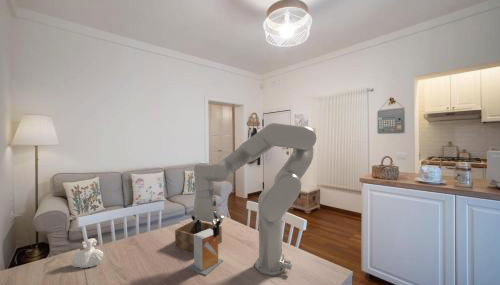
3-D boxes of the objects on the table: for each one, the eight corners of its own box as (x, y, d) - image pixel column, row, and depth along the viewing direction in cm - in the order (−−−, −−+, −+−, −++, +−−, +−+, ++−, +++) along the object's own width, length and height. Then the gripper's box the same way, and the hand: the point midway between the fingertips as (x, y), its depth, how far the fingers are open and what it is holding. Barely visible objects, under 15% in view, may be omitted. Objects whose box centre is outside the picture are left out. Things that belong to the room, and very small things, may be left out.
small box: (202, 271, 85) (202, 239, 84) (193, 265, 89) (193, 234, 89) (218, 262, 90) (218, 232, 90) (209, 256, 95) (209, 227, 94)
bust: (104, 267, 92) (111, 239, 99) (96, 265, 86) (104, 235, 93) (73, 270, 91) (83, 241, 97) (63, 268, 84) (74, 237, 91)
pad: (222, 261, 92) (222, 260, 92) (206, 275, 83) (206, 274, 83) (205, 255, 97) (205, 254, 97) (187, 268, 88) (187, 267, 88)
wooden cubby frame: (221, 241, 109) (221, 226, 109) (203, 255, 97) (203, 238, 97) (195, 234, 118) (195, 220, 118) (175, 245, 106) (175, 229, 105)
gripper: (227, 192, 88) (229, 233, 89) (195, 189, 96) (197, 226, 97) (215, 197, 81) (218, 241, 82) (182, 193, 90) (185, 233, 90)
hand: (207, 233), depth 89 cm, fingers open, 9 cm apart
